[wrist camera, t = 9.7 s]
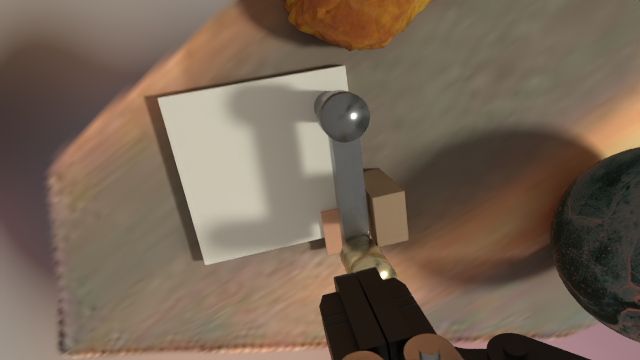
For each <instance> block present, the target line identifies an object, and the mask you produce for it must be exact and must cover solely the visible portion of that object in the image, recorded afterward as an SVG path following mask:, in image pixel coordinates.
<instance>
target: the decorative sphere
mask: <svg viewBox="0 0 640 360" xmlns="http://www.w3.org/2000/svg"><path fill="white" fill-rule="evenodd" d="M550 240H551V250H552V256H553V260H554V263H555V266H556V269H557V271H558V274H559V276H560V278H561V280H562V281H563V283H564V285H565V286H566V288H567V289H568V291H569V292H570V294H571V295H572V296H573V297H574V298H575V300H576V301H577V302H578V303H579V304H580V305H581V306H582V307H583V308H584V309H585V310H586V311H587V312H588V313H589V314H591V315H592V316H593V317H594V318H596V319H597V320H598V321H599V322H601V323H602V324H604V325H605V326H607V327H609V328H610V329H612V330H614V331H616V332H617V333H619V334H621V335H623V336H625V337H627V338H630V339H632V340H635V341H637V342H640V147H638V148H634V149H629V150H626V151H623V152H620V153H617V154H615V155H612V156H610V157H608V158H606V159H604V160H601V161H600V162H598V163H596V164H595V165H593V166H591V167H590V168H589V169H587V170H586V171H585V172H583V173H582V174H581V175H580V176H579V177H578V178H577V179H576V180H574V182H573V183H572V184H571V185H570V186H569V187H568V189H567V190H566V191H565V193H564V194H563V196H562V197H561V199H560V201H559V203H558V205H557V207H556V210H555V212H554V216H553V220H552V224H551V233H550Z"/></svg>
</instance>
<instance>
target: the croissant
mask: <svg viewBox="0 0 640 360" xmlns="http://www.w3.org/2000/svg"><path fill="white" fill-rule="evenodd" d="M430 1H432V0H286V4H285V6H284V8H286V9H287V11H288V12H289V13H290V15H289V17H288V20H289V22H290V23H291V24H293V25H294V26H296V28H297V30H300V31H302V32H305V33H309V34H312V35H315V36H316V37H317V38H319V39H322V40H324V41H326V42H327V43H329V44H330V45H336V46H339V47H344V48H346V49H347V50H349V51H352V50H354V49H358V50H364V49H372V50H373V49H377V48H384V47H385V46H386V45H387V44H388V43H389V42H390V41H391V40H392V38H393V37H394V36H395V35H397V34H399V33H401V32H403V31H404V29H405V28H406V27H407V26H408V25H409V23H410V22H411V21H412V20H413V18H414V16H415V15H416V14H418V13H420V12H421V11H422V10H424V9H425V7H426V6H427V4H428V3H429V2H430Z"/></svg>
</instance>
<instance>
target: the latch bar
mask: <svg viewBox="0 0 640 360" xmlns="http://www.w3.org/2000/svg"><path fill="white" fill-rule="evenodd" d="M316 118H317V122H318V124H319V126H320V128H321V129H322V130H323V131H324V132H325V133H326V134H327V135H328V139H329V147H330V155H331V163H332V170H333V178H334V186H335V194H336V201H337V209H338V217H339V225H340V232H341V240H342V249H341V253H340V257H341V261H342V263H343V265H344V267H345V269H346V271H347V274H348V273H352V272H354V273H355V272H356V271H360V270H364V269H368V268H372V267H376V268H377V270H378V272H379V273H380V275H381V277H382V279H383V280H385V279H389V278H393V277H394V278H396V279H397V275H396V272H395V271H394V269H393V268H392V266H391V265H390V263H389V262H388V261H387V259H386V258H385V256H384V255H383V253H382V252H381V250H380V249H379V248H378V246H377V245H376V243H375V242H374V241H373V240H372V239H371V238H370V233H369V223H368V213H367V203H366V193H365V184H364V174H363V164H362V154H361V144H360V136H362V135H363V133H364V132H365V131H366V129H367V127H368V124H369V120H370V113H369V109H368V106H367V104H366V103H365V102H364V100H363V99H362V98H360V97H359V96H357V95H355V94H352V93H350V92H348V91H345V90H335V91H332V92H329V93H328V94H326V95H325V96H324V97H323V98H322V99H321V100H320V102H319V104H318V107H317V111H316Z"/></svg>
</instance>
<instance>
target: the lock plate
mask: <svg viewBox="0 0 640 360" xmlns="http://www.w3.org/2000/svg"><path fill="white" fill-rule="evenodd" d="M335 90H345V91H348V85H347V77H346V69H345V66H344V65H340V66H334V67H329V68H323V69H317V70H311V71H306V72H300V73H294V74H288V75H283V76H277V77H271V78H265V79H260V80H254V81H248V82H242V83H237V84H231V85H225V86H219V87H214V88H208V89H202V90H196V91H191V92H185V93H179V94H173V95H168V96H162V97H159V98H157V99H158V102H159V106H160V109H161V113H162V116H163V120H164V123H165V126H166V130H167V133H168V137H169V140H170V144H171V147H172V151H173V154H174V158H175V161H176V165H177V168H178V172H179V175H180V179H181V182H182V186H183V189H184V193H185V196H186V200H187V203H188V206H189V210H190V213H191V217H192V220H193V224H194V227H195V231H196V234H197V238H198V241H199V245H200V248H201V252H202V255H203V259H204V262H205V265H208V264H212V263H217V262H221V261H225V260H230V259H234V258H238V257H243V256H247V255H251V254H256V253H260V252H264V251H269V250H273V249H277V248H282V247H286V246H290V245H295V244H299V243H303V242H308V241H312V240H316V239H321V238H325V243H326V249H327V254H328V255H331V254H335V253H340V252H341V249H342V240H341V232H340V225H339V217H338V209H337V201H336V194H335V186H334V178H333V170H332V163H331V155H330V147H329V139H328V135H327V134H326V133H325V132H324V131H323V130H322V129H321V128H320V126H319V124H318V122H317V118H316V111H317V107H318V104H319V102H320V100H321V99H322V98H323V97H324V96H325V95H326V94H328V93H329V92H332V91H335ZM363 174H364V184H365V193H366V203H367V213H368V223H369V233H370V238H371V239H373V241H374V242H375V243H376V245H377V246H378V247H382V246H386V245H390V244H395V243H399V242H403V241H407V240H409V238H408V226H407V214H406V202H405V191H404V190H403V189H402V188H401V187H399V186H398V185H397V184H396V183H395V182H394V181H393V180H392V179H390V178H389V177H388V176H387V175H386V174H385V173H384V172H382V171H381V170H380V169H379V168H378V169H373V170H369V171H364V172H363Z"/></svg>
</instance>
